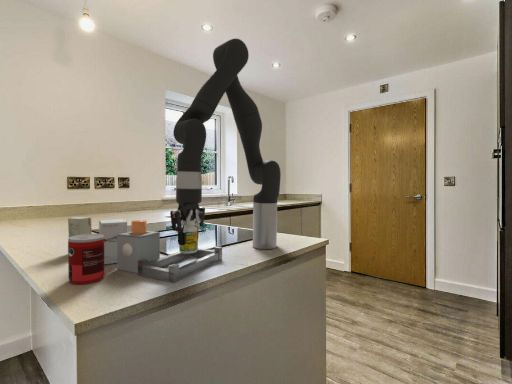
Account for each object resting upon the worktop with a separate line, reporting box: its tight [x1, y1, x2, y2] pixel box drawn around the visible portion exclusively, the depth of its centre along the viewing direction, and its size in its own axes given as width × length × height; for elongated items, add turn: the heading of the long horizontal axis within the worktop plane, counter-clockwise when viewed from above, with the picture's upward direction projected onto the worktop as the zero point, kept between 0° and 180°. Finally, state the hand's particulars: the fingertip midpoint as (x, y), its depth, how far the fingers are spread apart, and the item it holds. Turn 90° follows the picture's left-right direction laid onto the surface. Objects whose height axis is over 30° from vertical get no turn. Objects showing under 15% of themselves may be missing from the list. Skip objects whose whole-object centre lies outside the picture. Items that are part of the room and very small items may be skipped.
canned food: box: [67, 233, 105, 286], centre depth 71 cm, size 8×8×11 cm
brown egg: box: [130, 219, 147, 235], centre depth 81 cm, size 4×4×6 cm
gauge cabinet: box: [117, 230, 161, 274], centre depth 81 cm, size 8×8×10 cm
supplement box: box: [98, 218, 128, 265], centre depth 87 cm, size 7×7×13 cm
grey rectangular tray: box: [137, 246, 223, 283], centre depth 83 cm, size 23×12×4 cm, turn 156°
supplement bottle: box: [178, 220, 199, 254], centre depth 85 cm, size 5×5×10 cm
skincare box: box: [67, 216, 93, 238], centre depth 95 cm, size 6×4×12 cm
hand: (188, 242), depth 85 cm, fingers closed on supplement bottle, 5 cm apart
